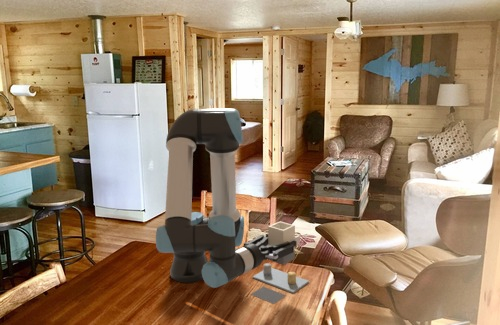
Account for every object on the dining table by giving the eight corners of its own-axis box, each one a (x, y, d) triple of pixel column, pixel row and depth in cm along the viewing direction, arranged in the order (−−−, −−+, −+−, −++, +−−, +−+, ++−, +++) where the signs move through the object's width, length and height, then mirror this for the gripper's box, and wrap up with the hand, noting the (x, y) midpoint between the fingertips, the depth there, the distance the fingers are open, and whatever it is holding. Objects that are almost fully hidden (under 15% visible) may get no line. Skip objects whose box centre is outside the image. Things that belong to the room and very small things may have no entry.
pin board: (252, 279, 153) (252, 267, 153) (269, 269, 161) (269, 258, 160) (293, 295, 142) (293, 282, 141) (308, 283, 149) (309, 271, 148)
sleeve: (268, 259, 141) (268, 226, 139) (279, 253, 146) (279, 221, 143) (283, 265, 137) (283, 230, 135) (294, 258, 142) (294, 225, 139)
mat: (250, 295, 142) (250, 294, 142) (263, 287, 147) (263, 286, 147) (273, 305, 136) (273, 304, 135) (286, 297, 141) (286, 295, 141)
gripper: (223, 261, 134) (269, 239, 151) (270, 279, 121) (314, 254, 138) (223, 239, 133) (268, 220, 149) (270, 255, 120) (314, 232, 137)
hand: (290, 236), depth 144 cm, fingers closed on sleeve, 6 cm apart
